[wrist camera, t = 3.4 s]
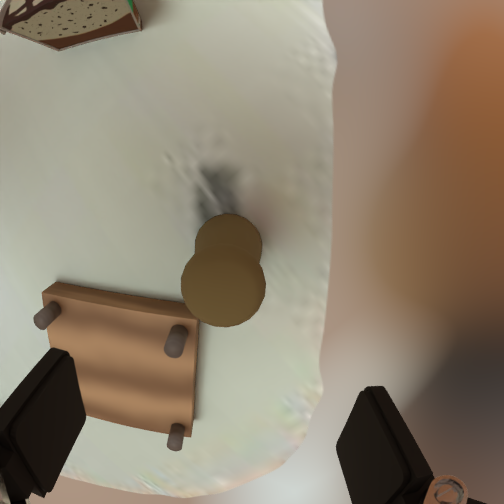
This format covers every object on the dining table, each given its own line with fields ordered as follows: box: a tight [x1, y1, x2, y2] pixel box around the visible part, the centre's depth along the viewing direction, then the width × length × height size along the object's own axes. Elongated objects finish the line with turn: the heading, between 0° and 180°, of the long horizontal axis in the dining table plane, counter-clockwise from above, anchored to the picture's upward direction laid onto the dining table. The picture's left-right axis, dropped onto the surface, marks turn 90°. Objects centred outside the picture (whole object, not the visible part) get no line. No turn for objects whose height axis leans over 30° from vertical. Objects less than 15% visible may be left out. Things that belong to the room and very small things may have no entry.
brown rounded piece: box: [181, 214, 266, 327], centre depth 23 cm, size 6×6×11 cm
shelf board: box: [34, 282, 199, 451], centre depth 28 cm, size 16×16×6 cm
